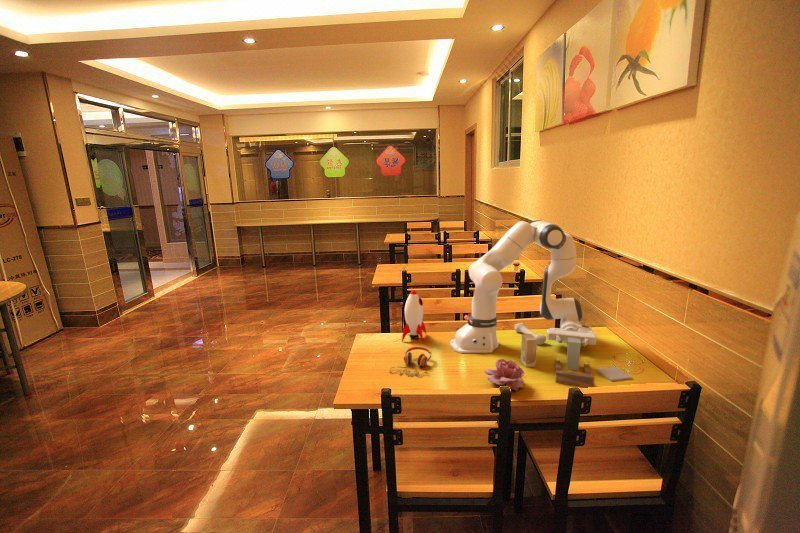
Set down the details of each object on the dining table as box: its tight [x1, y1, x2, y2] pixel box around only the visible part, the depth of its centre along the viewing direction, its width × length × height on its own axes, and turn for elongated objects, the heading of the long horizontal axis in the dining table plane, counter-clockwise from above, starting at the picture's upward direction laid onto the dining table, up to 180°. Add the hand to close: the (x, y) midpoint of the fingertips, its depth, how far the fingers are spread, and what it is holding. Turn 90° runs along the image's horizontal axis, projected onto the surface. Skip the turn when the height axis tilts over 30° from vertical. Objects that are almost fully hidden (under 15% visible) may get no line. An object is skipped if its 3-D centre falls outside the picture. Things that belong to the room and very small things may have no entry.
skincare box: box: [520, 333, 538, 368], centre depth 169 cm, size 6×4×12 cm
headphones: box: [389, 345, 433, 378], centre depth 170 cm, size 17×5×20 cm
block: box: [565, 338, 582, 372], centre depth 165 cm, size 4×4×12 cm
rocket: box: [401, 289, 427, 343], centre depth 198 cm, size 11×11×25 cm
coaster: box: [595, 366, 633, 382], centre depth 159 cm, size 9×9×1 cm
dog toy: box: [514, 322, 547, 346], centre depth 197 cm, size 20×6×5 cm, turn 17°
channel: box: [554, 359, 595, 388], centre depth 160 cm, size 18×13×4 cm
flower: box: [484, 358, 526, 392], centre depth 152 cm, size 15×15×10 cm
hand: (572, 343), depth 174 cm, fingers open, 8 cm apart
